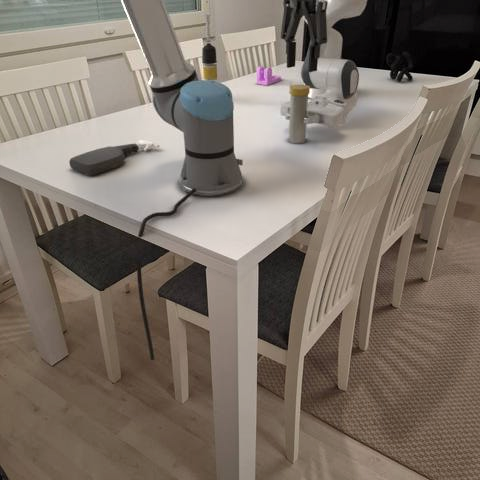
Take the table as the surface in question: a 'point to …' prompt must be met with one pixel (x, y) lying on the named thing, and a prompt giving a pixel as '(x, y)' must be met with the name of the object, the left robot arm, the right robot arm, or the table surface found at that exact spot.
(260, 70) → the bracket
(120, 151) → the spray bottle
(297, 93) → the lid
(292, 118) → the jar
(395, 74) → the squiggle
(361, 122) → the table surface
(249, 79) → the table surface
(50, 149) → the table surface
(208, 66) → the black and yellow bottle
